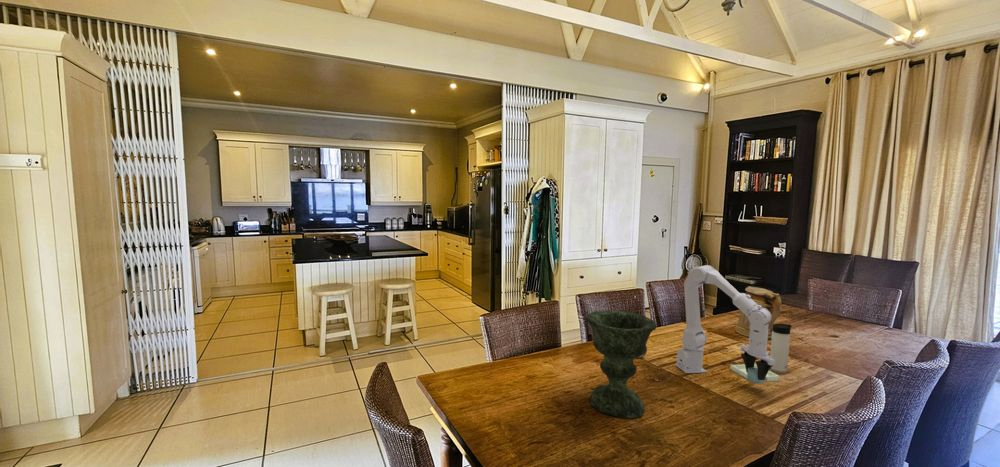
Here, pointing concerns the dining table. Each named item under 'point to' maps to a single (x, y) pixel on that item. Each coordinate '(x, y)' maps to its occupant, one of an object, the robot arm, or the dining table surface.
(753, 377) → the tabbed cylinder
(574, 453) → the dining table surface
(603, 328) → the goblet
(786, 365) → the travel mug
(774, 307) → the tankard
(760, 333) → the robot arm
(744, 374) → the tray
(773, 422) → the dining table surface
